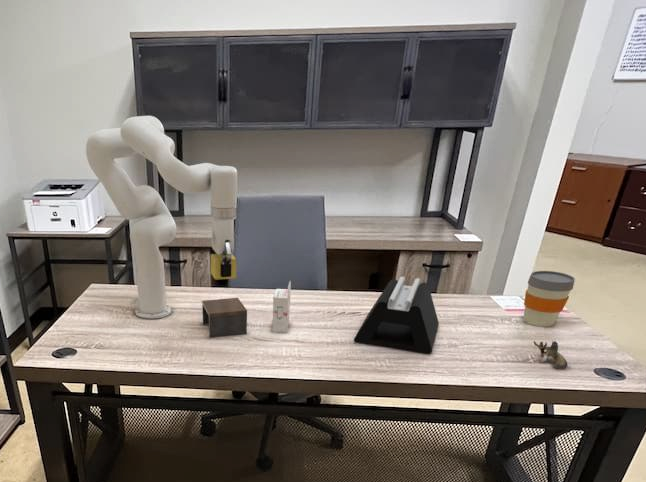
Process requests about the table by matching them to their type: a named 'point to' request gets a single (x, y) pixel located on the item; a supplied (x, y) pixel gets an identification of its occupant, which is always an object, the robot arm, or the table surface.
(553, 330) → the table surface
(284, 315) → the ink cartridge box
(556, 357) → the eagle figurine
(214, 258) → the sticky-note cube
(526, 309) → the reusable coffee cup
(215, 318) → the stand
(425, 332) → the device stand
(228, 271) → the robot arm
